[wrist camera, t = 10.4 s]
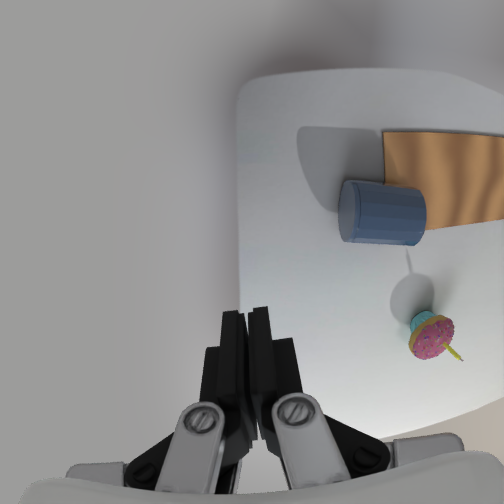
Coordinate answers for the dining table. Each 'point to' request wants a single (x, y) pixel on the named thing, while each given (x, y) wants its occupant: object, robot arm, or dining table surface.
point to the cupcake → (431, 335)
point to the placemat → (449, 174)
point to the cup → (381, 213)
